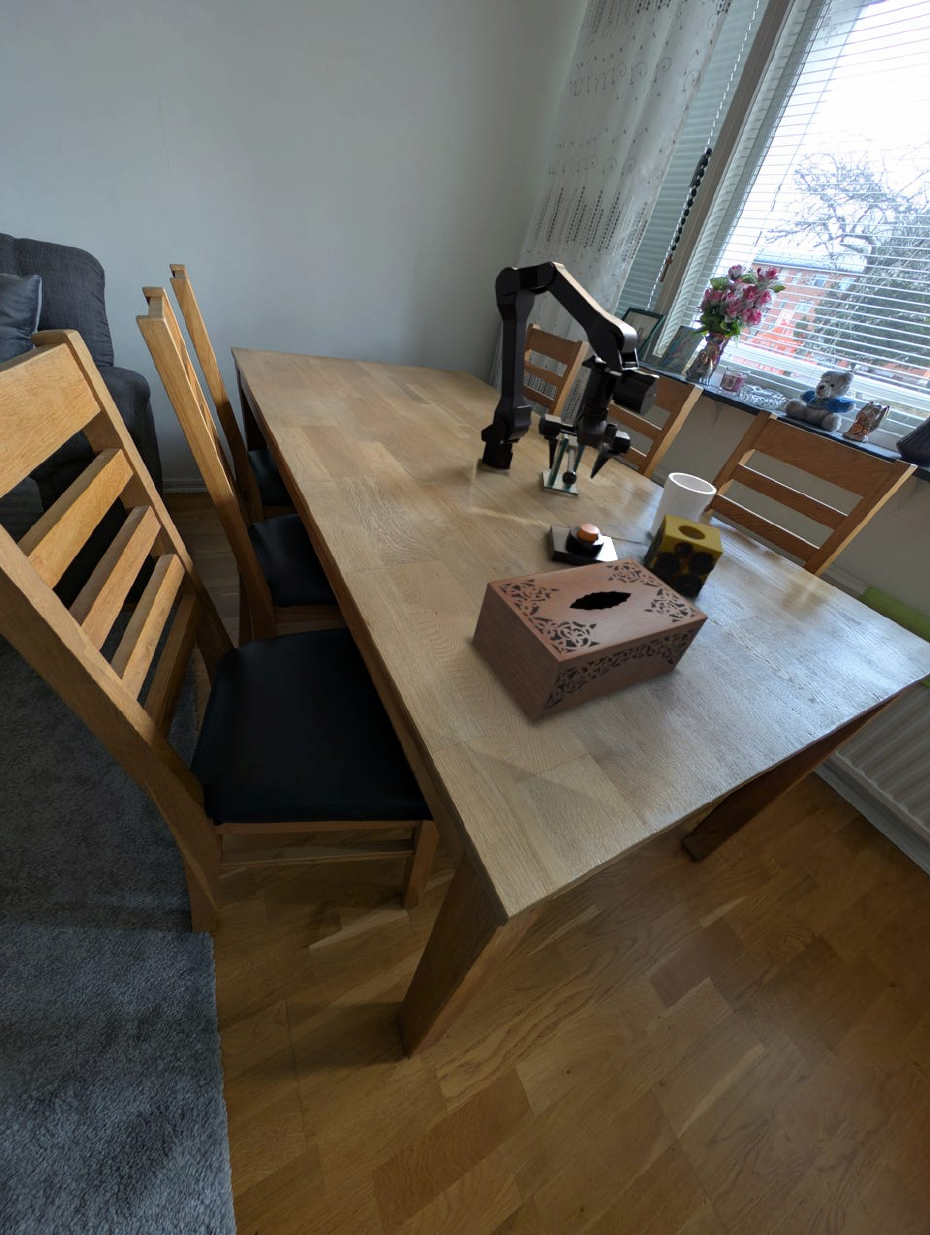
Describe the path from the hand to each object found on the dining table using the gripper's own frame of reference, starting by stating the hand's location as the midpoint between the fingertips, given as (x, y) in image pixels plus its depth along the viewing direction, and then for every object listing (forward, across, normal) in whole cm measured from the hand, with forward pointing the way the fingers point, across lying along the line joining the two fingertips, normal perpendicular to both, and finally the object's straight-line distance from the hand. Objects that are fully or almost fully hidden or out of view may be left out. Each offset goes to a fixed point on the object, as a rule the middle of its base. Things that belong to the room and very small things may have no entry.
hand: (570, 473), depth 104 cm
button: (+3, +2, -22) cm, 22 cm away
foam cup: (+7, +22, -8) cm, 25 cm away
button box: (+7, +2, -22) cm, 23 cm away
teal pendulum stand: (+7, 0, +9) cm, 11 cm away
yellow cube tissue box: (+7, +19, -24) cm, 31 cm away
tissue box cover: (+7, -2, -52) cm, 52 cm away
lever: (0, 0, +5) cm, 5 cm away
